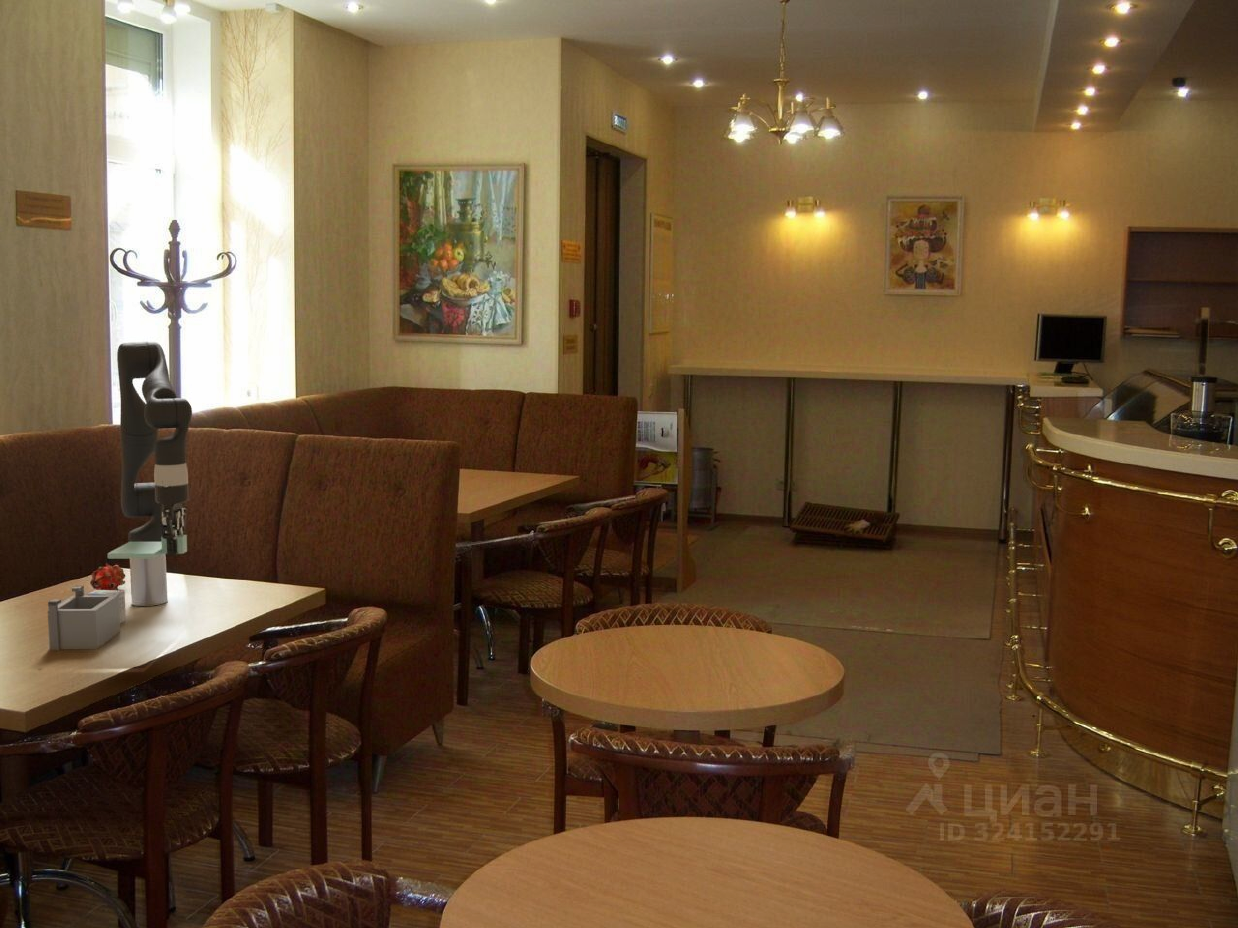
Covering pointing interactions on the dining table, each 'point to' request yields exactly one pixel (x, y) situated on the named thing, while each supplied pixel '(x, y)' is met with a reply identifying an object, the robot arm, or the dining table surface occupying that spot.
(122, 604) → the medicine box
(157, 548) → the snap lid
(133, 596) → the robot arm
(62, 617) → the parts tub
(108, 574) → the dragon fruit
